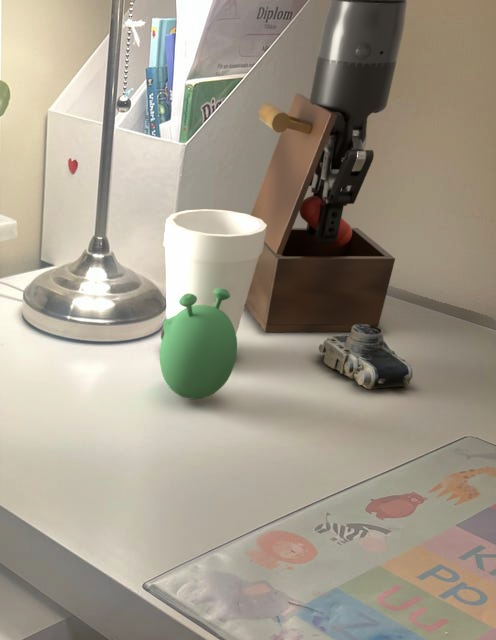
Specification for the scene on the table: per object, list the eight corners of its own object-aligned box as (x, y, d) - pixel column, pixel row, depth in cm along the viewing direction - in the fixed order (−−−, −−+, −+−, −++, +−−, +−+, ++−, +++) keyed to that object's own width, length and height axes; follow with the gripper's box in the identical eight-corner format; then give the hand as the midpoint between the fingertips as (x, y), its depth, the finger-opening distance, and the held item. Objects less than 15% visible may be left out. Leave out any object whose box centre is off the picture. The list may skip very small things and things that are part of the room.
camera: (364, 395, 93) (374, 352, 91) (312, 355, 101) (320, 315, 99) (411, 390, 94) (422, 348, 92) (355, 351, 102) (365, 311, 100)
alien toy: (189, 373, 97) (202, 270, 91) (245, 400, 92) (263, 294, 86) (135, 389, 94) (145, 283, 87) (190, 418, 89) (205, 308, 83)
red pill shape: (335, 246, 108) (352, 227, 107) (342, 254, 106) (359, 234, 105) (291, 208, 105) (308, 188, 104) (297, 215, 103) (315, 195, 102)
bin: (342, 296, 116) (357, 227, 111) (377, 331, 107) (395, 258, 102) (238, 296, 115) (249, 227, 111) (264, 332, 106) (277, 258, 101)
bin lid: (301, 94, 103) (259, 81, 102) (337, 115, 93) (291, 101, 92) (253, 224, 110) (212, 214, 109) (281, 255, 101) (238, 244, 100)
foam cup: (233, 378, 96) (255, 241, 88) (142, 363, 99) (156, 228, 91) (251, 345, 103) (273, 215, 95) (166, 332, 106) (181, 205, 98)
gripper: (423, 65, 90) (376, 257, 101) (370, 45, 101) (333, 220, 112) (344, 64, 90) (305, 257, 100) (299, 44, 101) (269, 220, 111)
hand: (320, 237), depth 106 cm, fingers closed on red pill shape, 2 cm apart
